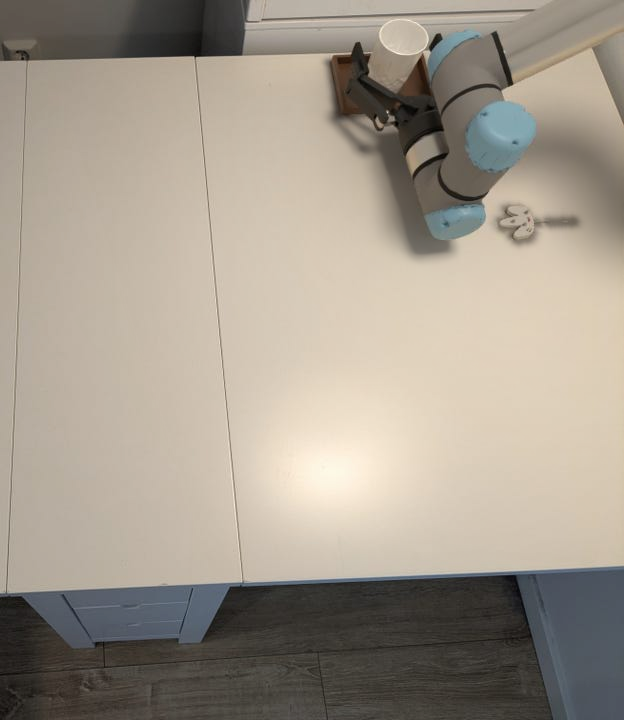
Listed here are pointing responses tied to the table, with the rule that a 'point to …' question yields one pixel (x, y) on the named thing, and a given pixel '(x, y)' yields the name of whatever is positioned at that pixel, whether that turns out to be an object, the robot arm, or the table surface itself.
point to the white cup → (396, 52)
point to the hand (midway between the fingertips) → (394, 44)
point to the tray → (342, 64)
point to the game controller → (519, 221)
